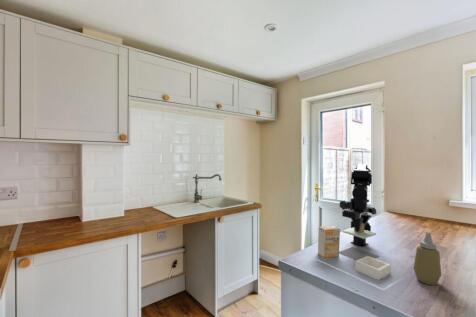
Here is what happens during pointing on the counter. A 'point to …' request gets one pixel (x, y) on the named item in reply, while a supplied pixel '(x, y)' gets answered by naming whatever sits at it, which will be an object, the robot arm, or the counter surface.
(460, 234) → the counter surface
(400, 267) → the counter surface
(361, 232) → the lid
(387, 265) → the white box
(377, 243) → the counter surface
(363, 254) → the mat
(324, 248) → the supplement box
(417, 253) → the squeeze bottle
